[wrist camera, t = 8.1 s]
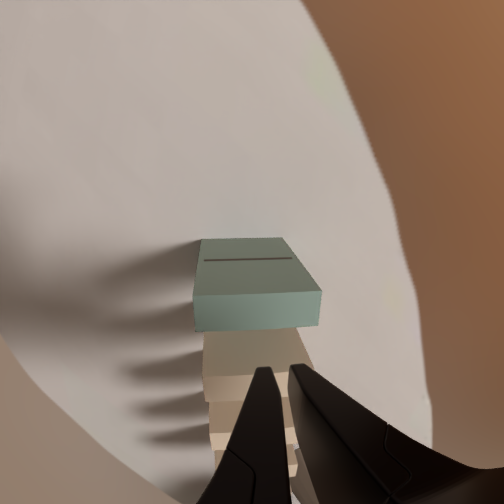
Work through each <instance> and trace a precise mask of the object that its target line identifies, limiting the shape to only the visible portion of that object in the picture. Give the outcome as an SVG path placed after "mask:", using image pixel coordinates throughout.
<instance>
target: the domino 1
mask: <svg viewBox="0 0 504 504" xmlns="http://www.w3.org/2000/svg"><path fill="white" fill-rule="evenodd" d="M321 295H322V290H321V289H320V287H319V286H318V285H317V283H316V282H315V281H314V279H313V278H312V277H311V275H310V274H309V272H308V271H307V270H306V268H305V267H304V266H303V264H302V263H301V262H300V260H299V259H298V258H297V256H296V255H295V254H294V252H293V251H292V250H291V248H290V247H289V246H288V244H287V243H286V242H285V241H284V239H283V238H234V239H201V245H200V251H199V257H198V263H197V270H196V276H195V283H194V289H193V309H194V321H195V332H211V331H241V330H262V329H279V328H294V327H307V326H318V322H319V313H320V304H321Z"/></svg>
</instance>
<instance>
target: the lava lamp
mask: <svg viewBox="0 0 504 504" xmlns="http://www.w3.org/2000/svg"><path fill="white" fill-rule="evenodd" d="M295 455H296V459H297V462H298V467H297V471H296V476H294V477H289V479H290V486H291V490H292V492H293V493H294V495H295V496H296V498H297V499H298V500H299V502H300V503H301V504H319V502H318V499H317V496H316V493H315V491H314V488H313V485H312V482H311V479H310V476H309V473H308V470H307V467H306V465H305V462H304V459H303V456H302V453H301V450H300V448H299V449H297V450H295Z"/></svg>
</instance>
